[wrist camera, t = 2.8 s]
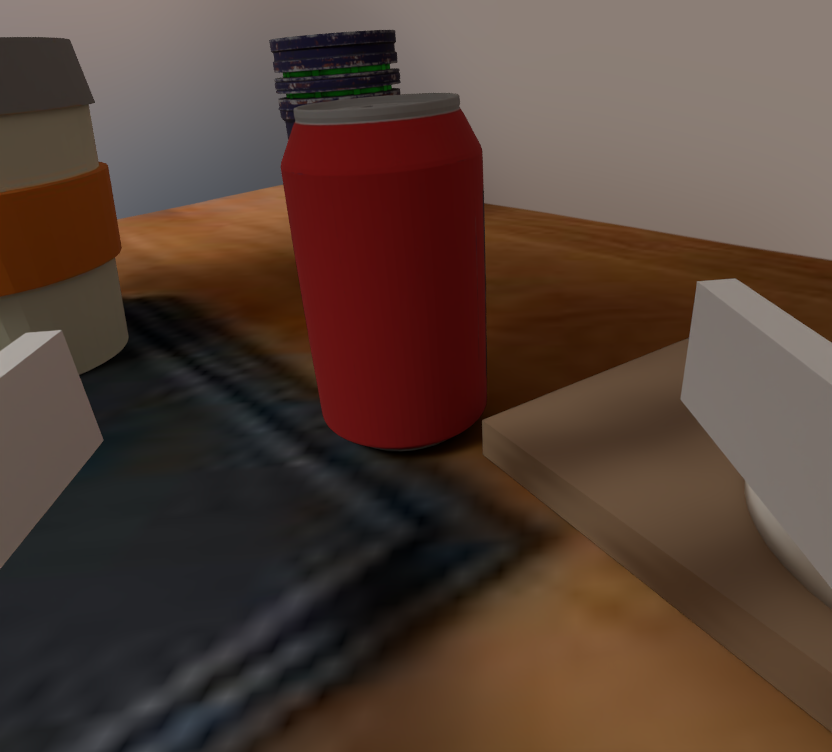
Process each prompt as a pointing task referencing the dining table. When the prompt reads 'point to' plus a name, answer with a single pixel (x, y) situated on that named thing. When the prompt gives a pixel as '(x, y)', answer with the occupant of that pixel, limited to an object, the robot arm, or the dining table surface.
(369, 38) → the dark blue cylinder
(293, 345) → the dining table surface
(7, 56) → the reusable coffee cup
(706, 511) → the drinks board
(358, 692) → the dining table surface
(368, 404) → the beverage can
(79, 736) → the dining table surface
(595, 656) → the dining table surface
